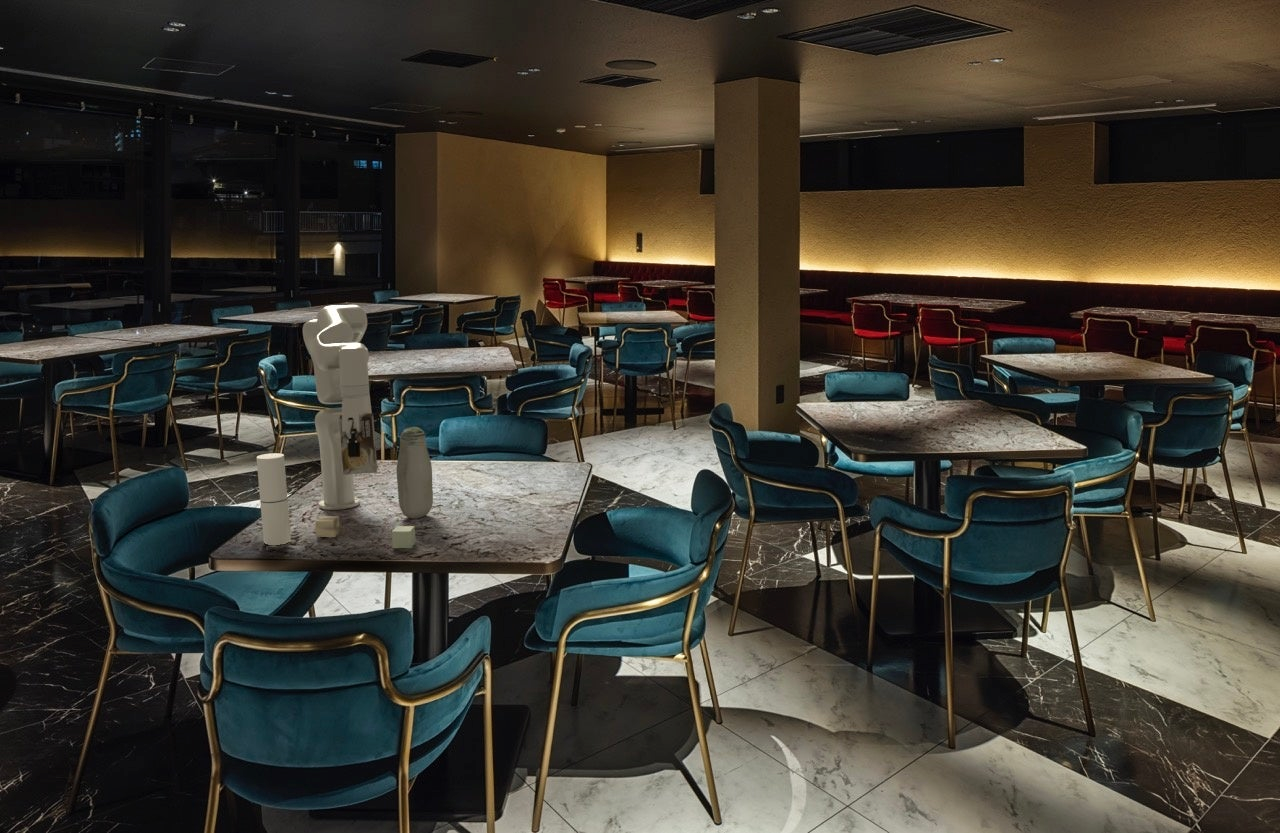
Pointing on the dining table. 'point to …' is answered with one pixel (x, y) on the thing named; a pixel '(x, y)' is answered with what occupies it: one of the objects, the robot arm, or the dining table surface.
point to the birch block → (327, 526)
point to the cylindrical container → (273, 498)
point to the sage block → (403, 537)
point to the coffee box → (367, 449)
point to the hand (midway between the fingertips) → (359, 452)
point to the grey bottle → (414, 474)
